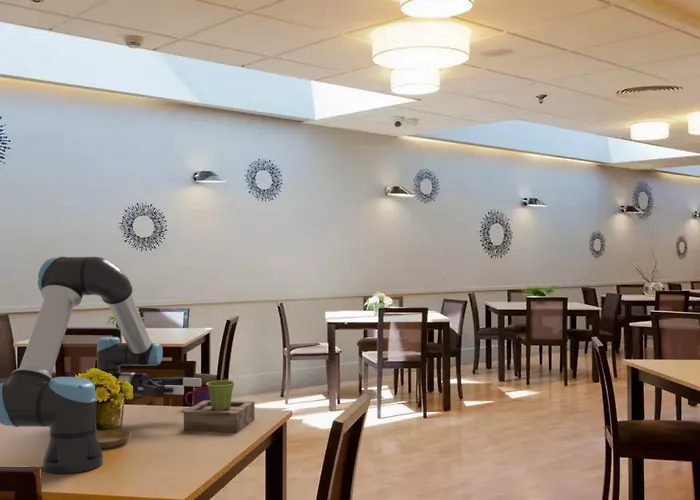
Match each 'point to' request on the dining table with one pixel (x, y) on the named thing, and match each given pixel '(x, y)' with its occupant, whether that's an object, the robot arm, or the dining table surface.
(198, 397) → the mug
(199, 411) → the walnut plant stand
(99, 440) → the plant saucer
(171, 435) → the dining table surface
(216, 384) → the plant pot
